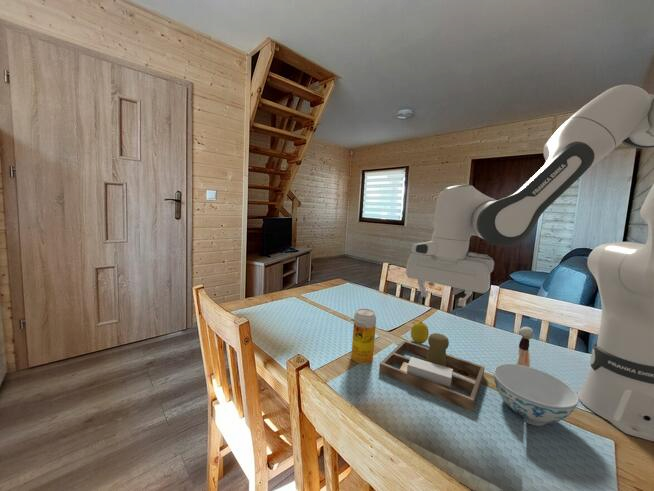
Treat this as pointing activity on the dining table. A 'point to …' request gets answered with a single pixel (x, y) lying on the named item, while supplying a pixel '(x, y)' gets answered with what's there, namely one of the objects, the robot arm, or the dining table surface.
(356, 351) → the beer can
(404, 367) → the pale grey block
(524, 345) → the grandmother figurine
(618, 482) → the dining table surface
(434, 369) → the grey offcut
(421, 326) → the lemon
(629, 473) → the dining table surface
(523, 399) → the chinaware
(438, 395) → the walnut divided tray
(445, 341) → the brown tall rounded piece
